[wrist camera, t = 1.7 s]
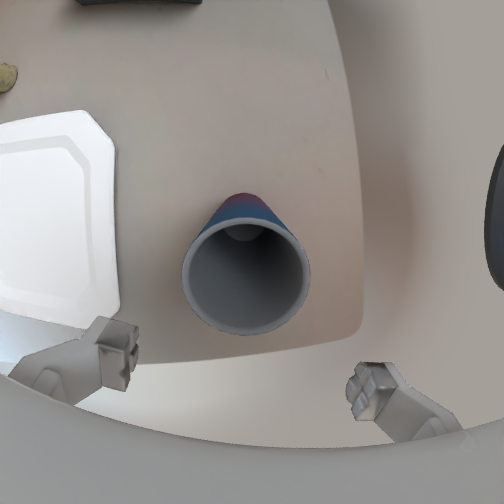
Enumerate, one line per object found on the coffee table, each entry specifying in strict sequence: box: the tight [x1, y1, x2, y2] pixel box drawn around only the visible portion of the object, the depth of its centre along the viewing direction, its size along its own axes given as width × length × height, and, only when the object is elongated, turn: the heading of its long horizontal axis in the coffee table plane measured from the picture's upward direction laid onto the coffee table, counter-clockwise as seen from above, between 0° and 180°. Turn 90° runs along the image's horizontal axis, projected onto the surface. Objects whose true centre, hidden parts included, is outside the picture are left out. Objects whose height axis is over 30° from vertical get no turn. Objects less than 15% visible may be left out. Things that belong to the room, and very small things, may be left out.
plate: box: [0, 110, 121, 330], centre depth 28 cm, size 25×25×2 cm
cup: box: [181, 193, 310, 336], centre depth 23 cm, size 7×7×15 cm
